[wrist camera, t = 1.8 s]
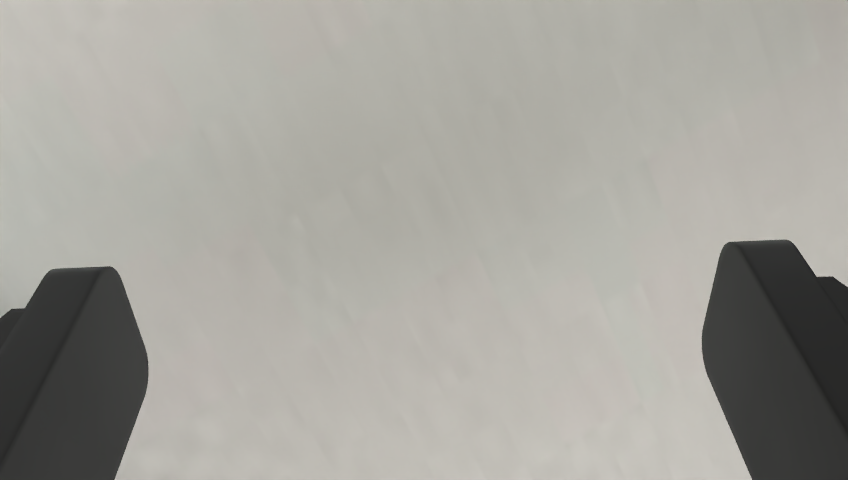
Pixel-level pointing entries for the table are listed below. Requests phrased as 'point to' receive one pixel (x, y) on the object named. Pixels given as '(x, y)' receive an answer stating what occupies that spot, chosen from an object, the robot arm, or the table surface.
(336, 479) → the table surface
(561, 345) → the table surface
